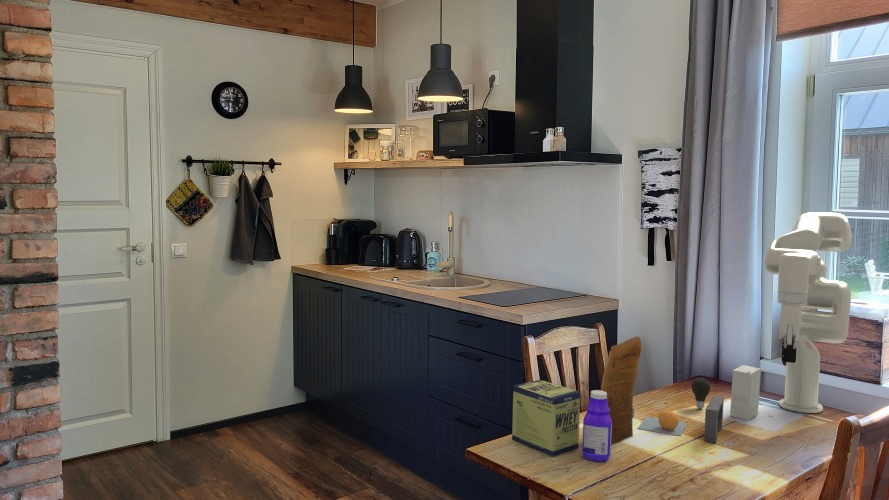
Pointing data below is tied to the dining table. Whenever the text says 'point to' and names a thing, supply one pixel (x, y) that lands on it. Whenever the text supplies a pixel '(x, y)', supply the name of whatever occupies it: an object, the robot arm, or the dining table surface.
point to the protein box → (546, 417)
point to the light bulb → (700, 391)
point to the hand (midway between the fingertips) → (789, 361)
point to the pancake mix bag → (621, 386)
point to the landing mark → (654, 426)
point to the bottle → (597, 428)
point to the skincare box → (745, 392)
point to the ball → (668, 420)
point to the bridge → (713, 419)
